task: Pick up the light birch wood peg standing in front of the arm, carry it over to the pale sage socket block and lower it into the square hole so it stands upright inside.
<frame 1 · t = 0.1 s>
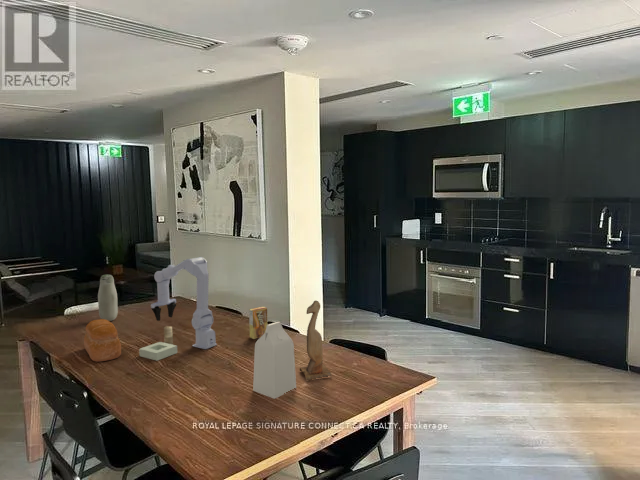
hand: (164, 318, 245), 10 cm above the table, tool pointing down, fingers open, 7 cm apart
grey bottle: (109, 321, 279), on the table
bird sculpture: (315, 375, 193), on the table
bread: (102, 353, 222), on the table
socket block: (158, 354, 219), on the table
candy box: (258, 337, 245), on the table
peg: (168, 344, 233), on the table
milk: (274, 389, 179), on the table
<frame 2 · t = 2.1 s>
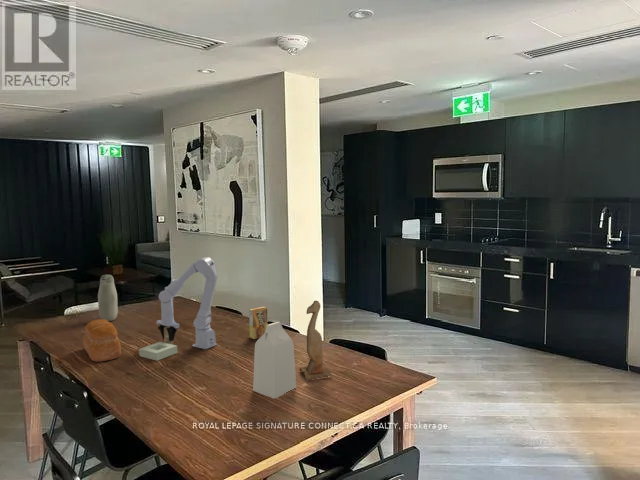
hand: (168, 340, 233), 2 cm above the table, tool pointing down, fingers closed on peg, 4 cm apart
peg: (168, 344, 233), on the table, touching gripper
everything else where it was.
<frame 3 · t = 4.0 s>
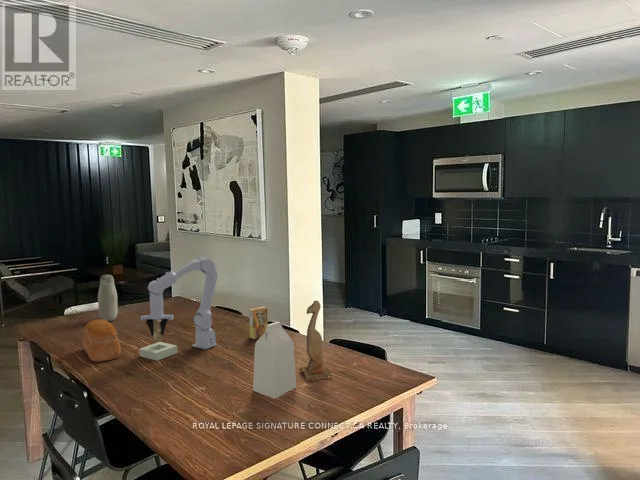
hand: (157, 334, 219), 9 cm above the table, tool pointing down, fingers closed on peg, 4 cm apart
peg: (158, 339, 219), point 7 cm above the table, touching gripper
everything else where it was.
when the fingers open (4 cm above the table, at t = 5.8 s): peg drops 1 cm, resting in socket block.
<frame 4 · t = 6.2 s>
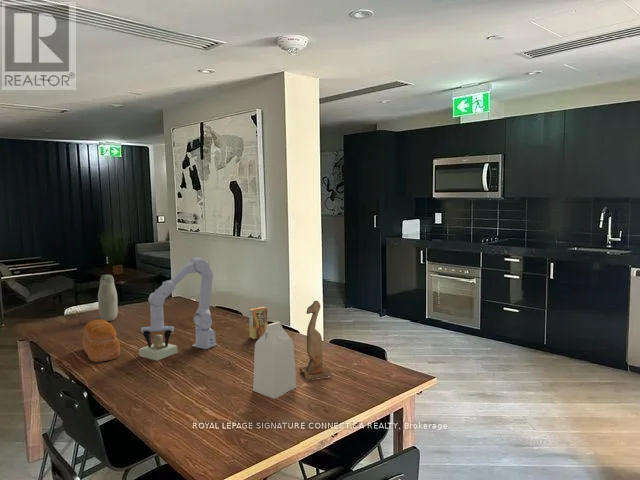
hand: (158, 346, 219), 4 cm above the table, tool pointing down, fingers open, 7 cm apart
peg: (158, 354, 219), resting in socket block
everything else where it was.
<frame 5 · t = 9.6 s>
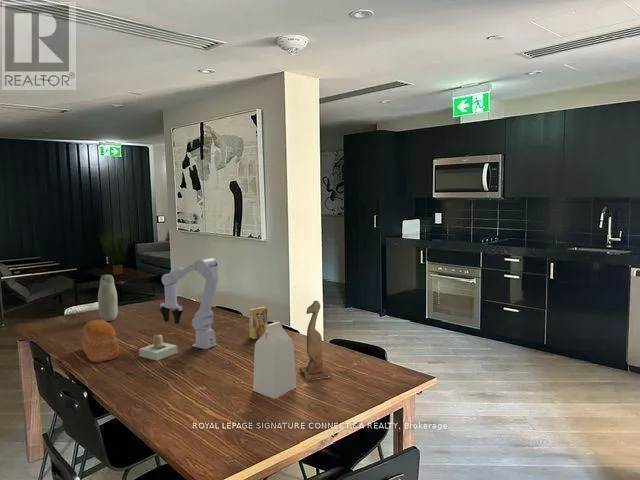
hand: (171, 322, 239), 9 cm above the table, tool pointing down, fingers open, 7 cm apart
at the end: peg 0.0 cm off-centre on the socket block, point 0.0 cm above the socket block's base; peg tilted 0°; the gripper is holding nothing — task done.
